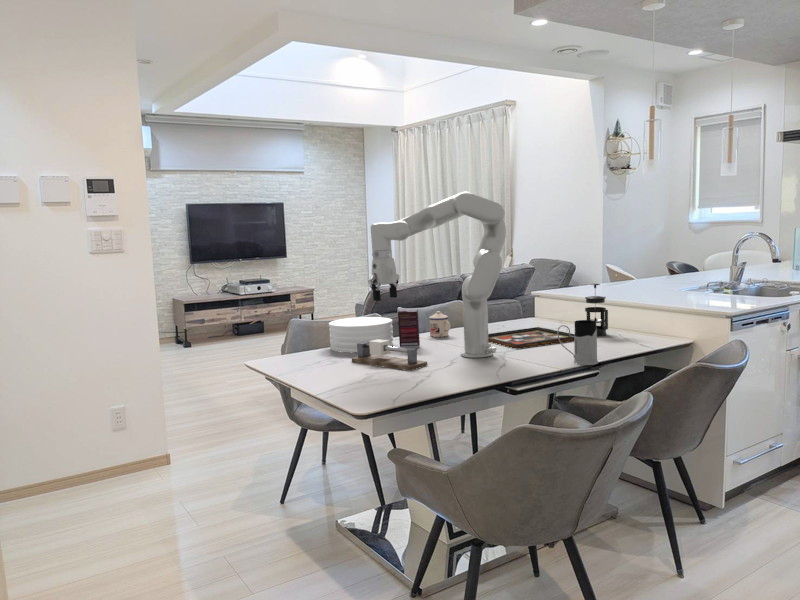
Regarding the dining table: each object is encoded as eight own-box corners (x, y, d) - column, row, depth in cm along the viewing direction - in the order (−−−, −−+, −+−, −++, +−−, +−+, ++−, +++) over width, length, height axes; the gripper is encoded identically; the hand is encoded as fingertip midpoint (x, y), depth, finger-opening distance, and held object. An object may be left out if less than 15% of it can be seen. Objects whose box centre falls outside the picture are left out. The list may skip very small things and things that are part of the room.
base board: (427, 365, 235) (427, 361, 235) (410, 370, 228) (409, 366, 228) (369, 357, 255) (369, 353, 255) (351, 361, 248) (351, 358, 247)
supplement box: (420, 345, 276) (418, 309, 274) (419, 348, 271) (417, 311, 269) (400, 346, 276) (398, 310, 275) (399, 348, 272) (397, 311, 270)
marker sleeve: (390, 353, 244) (389, 340, 243) (381, 355, 240) (380, 342, 239) (378, 351, 248) (378, 339, 247) (369, 353, 244) (369, 341, 243)
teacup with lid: (425, 336, 300) (424, 311, 299) (439, 333, 306) (438, 309, 305) (443, 338, 291) (442, 313, 290) (457, 335, 297) (456, 311, 295)
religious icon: (531, 330, 305) (531, 324, 305) (588, 340, 275) (588, 333, 275) (469, 341, 285) (469, 335, 285) (523, 353, 256) (523, 346, 255)
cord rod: (418, 362, 234) (417, 346, 234) (410, 364, 231) (410, 348, 230) (365, 355, 252) (364, 340, 252) (357, 357, 249) (356, 342, 248)
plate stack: (320, 346, 285) (319, 321, 284) (375, 339, 299) (374, 315, 298) (346, 356, 261) (344, 328, 260) (404, 347, 275) (403, 321, 273)
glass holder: (599, 365, 224) (599, 323, 222) (558, 365, 226) (558, 323, 225) (596, 359, 232) (596, 319, 231) (557, 360, 235) (556, 320, 233)
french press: (579, 334, 287) (578, 283, 284) (593, 331, 292) (593, 282, 289) (599, 337, 277) (598, 285, 274) (614, 335, 282) (613, 283, 279)
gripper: (374, 256, 235) (377, 302, 237) (403, 253, 248) (406, 296, 250) (359, 257, 239) (363, 301, 241) (389, 253, 253) (392, 296, 254)
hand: (385, 299), depth 246 cm, fingers open, 9 cm apart
